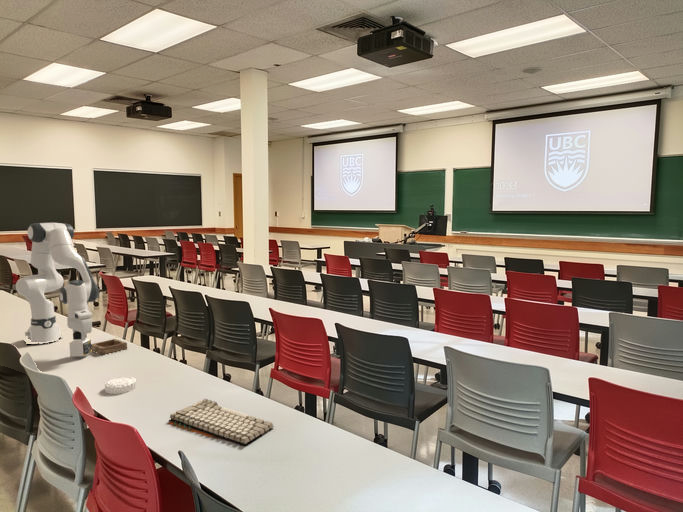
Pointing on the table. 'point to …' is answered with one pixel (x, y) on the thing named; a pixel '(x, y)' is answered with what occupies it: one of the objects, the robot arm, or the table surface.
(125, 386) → the mooncake
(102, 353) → the brown wooden tray
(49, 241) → the robot arm
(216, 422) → the mechanical keyboard
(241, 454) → the table surface
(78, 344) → the medicine bottle
